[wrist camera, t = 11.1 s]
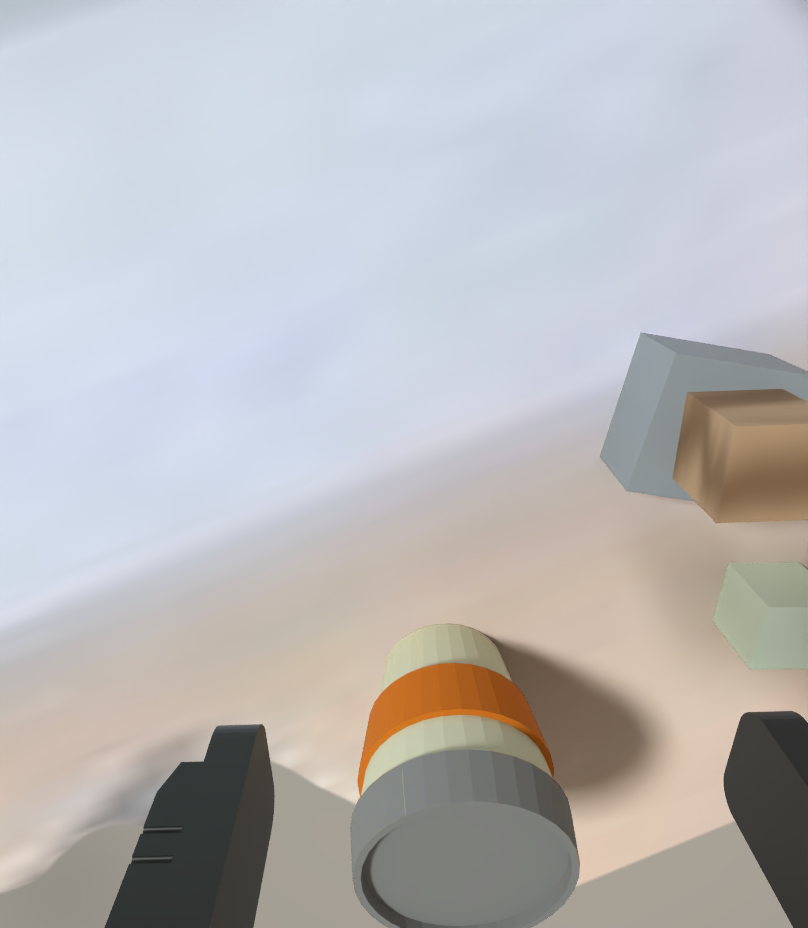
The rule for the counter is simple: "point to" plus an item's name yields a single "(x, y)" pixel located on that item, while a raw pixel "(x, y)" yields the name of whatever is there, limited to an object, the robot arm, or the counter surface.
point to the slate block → (678, 403)
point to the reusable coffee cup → (458, 794)
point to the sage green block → (765, 614)
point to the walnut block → (745, 455)
